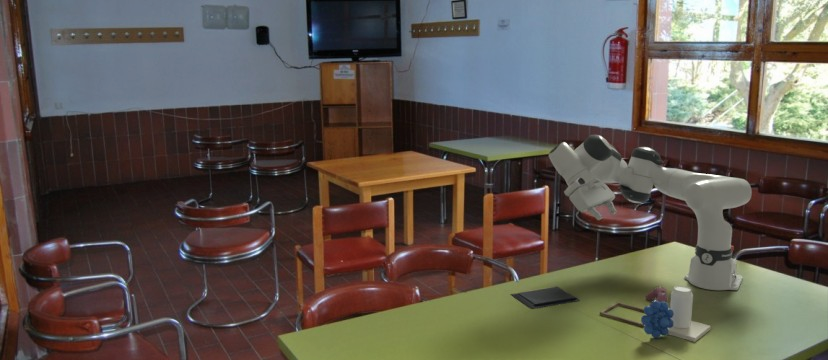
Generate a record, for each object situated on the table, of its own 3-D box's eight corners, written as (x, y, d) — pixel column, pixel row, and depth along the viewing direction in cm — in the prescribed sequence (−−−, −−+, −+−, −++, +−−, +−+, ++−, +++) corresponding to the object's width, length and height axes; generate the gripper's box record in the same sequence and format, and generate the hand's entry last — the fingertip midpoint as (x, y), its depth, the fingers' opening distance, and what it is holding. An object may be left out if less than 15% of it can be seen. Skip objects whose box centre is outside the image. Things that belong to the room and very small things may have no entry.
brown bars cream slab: (617, 303, 232) (617, 300, 232) (710, 329, 212) (710, 325, 212) (599, 314, 224) (599, 311, 223) (694, 342, 203) (695, 338, 203)
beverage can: (664, 324, 213) (667, 287, 211) (679, 320, 216) (682, 284, 213) (679, 331, 207) (682, 293, 205) (695, 327, 210) (698, 290, 208)
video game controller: (660, 314, 227) (672, 297, 226) (648, 307, 228) (659, 290, 226) (656, 303, 237) (666, 286, 235) (644, 297, 237) (654, 280, 236)
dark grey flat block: (530, 305, 228) (509, 290, 242) (530, 311, 228) (508, 295, 242) (582, 298, 235) (558, 283, 249) (582, 303, 235) (558, 288, 249)
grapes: (650, 347, 200) (653, 307, 197) (635, 337, 206) (637, 299, 204) (682, 340, 204) (685, 302, 202) (666, 331, 210) (668, 294, 208)
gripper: (591, 184, 245) (615, 215, 240) (561, 193, 230) (586, 227, 226) (604, 173, 241) (628, 205, 236) (573, 182, 226) (599, 216, 222)
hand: (607, 216), depth 231 cm, fingers open, 8 cm apart
